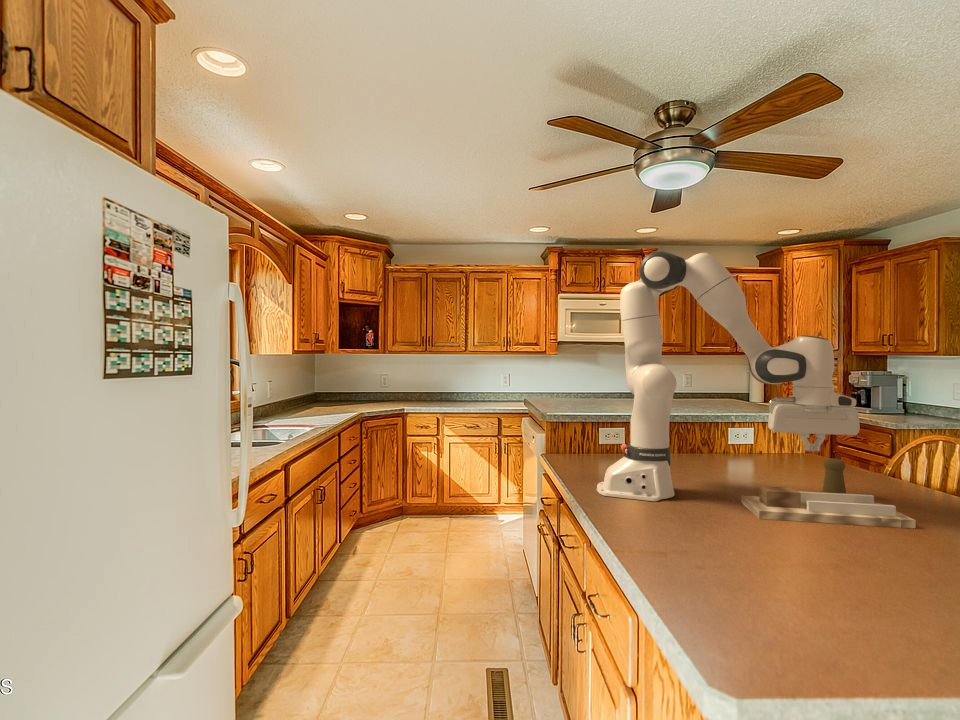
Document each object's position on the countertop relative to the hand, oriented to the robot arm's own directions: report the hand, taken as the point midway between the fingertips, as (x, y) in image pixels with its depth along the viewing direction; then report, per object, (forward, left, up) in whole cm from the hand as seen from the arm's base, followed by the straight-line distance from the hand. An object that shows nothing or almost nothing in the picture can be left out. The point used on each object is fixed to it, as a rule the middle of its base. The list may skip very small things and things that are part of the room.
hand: (812, 450), depth 126 cm
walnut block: (-8, 0, -15) cm, 16 cm away
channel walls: (+7, 0, -14) cm, 16 cm away
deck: (+2, 0, -17) cm, 17 cm away
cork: (+14, +20, -17) cm, 30 cm away
